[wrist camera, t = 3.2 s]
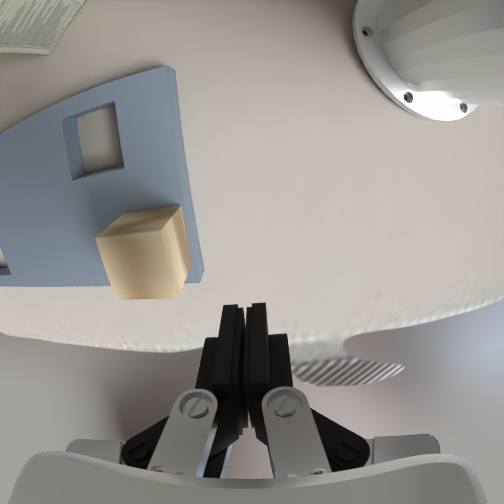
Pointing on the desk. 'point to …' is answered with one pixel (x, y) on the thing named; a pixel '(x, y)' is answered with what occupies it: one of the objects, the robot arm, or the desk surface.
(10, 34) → the skincare box
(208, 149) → the desk surface
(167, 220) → the block
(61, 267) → the board
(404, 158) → the desk surface
